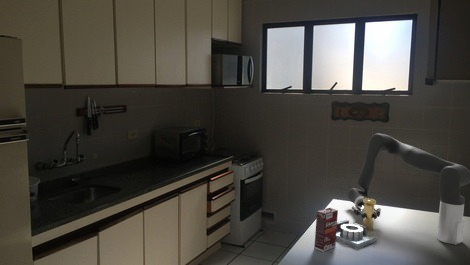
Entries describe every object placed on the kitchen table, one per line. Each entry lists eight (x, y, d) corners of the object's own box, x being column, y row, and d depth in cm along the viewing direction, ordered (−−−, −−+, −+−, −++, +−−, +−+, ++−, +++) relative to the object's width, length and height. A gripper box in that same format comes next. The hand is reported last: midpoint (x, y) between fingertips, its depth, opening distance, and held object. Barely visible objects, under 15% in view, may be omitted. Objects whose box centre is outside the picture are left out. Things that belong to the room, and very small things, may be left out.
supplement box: (323, 252, 162) (325, 214, 160) (313, 248, 165) (315, 211, 163) (336, 247, 167) (338, 210, 165) (326, 243, 171) (328, 207, 169)
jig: (376, 241, 174) (376, 230, 173) (357, 248, 166) (358, 237, 166) (345, 230, 187) (346, 219, 186) (327, 236, 179) (327, 225, 178)
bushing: (376, 229, 188) (378, 200, 186) (369, 232, 185) (371, 202, 183) (366, 226, 192) (368, 197, 190) (358, 228, 189) (360, 199, 187)
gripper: (349, 197, 202) (354, 207, 185) (378, 198, 200) (386, 209, 183) (348, 211, 203) (353, 223, 186) (377, 213, 201) (385, 225, 184)
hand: (369, 216), depth 185 cm, fingers closed on bushing, 4 cm apart
